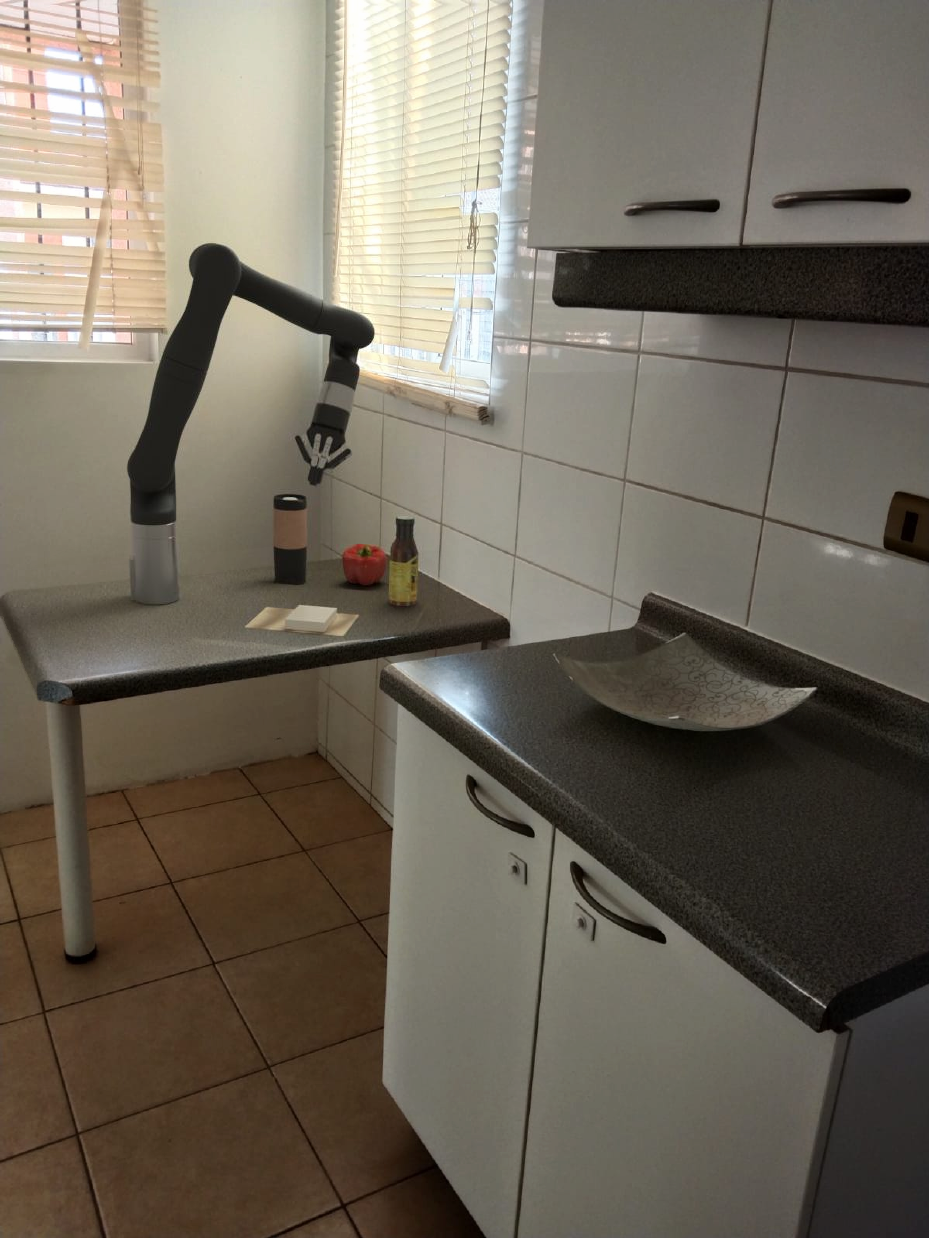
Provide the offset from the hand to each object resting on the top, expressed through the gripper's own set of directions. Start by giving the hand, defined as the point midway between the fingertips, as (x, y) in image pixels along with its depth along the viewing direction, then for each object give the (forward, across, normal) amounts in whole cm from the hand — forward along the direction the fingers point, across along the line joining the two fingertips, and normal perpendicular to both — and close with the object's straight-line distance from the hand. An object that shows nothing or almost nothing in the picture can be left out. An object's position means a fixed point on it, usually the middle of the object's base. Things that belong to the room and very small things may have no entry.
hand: (313, 485), depth 215 cm
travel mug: (+21, -3, +20) cm, 30 cm away
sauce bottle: (+20, +25, +6) cm, 33 cm away
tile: (+26, +9, -7) cm, 28 cm away
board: (+29, +7, -10) cm, 32 cm away
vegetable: (+18, +13, +22) cm, 31 cm away
